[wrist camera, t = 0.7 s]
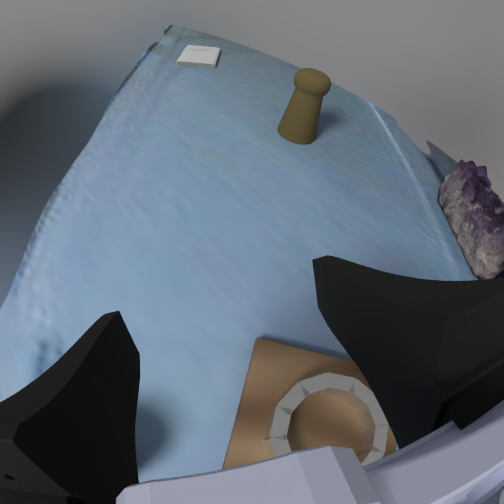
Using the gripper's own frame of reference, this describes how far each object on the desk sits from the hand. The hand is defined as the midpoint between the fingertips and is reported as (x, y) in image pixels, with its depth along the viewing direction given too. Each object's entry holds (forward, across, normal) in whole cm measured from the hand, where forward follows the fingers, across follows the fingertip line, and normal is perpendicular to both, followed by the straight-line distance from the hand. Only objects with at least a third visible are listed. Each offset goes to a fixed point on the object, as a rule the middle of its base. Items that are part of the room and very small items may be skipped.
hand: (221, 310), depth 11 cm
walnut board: (+5, -4, +17) cm, 18 cm away
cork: (+39, -16, -2) cm, 43 cm away
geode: (+24, -38, +15) cm, 47 cm away
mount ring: (+4, -4, +16) cm, 18 cm away
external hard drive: (+66, -6, -22) cm, 70 cm away
